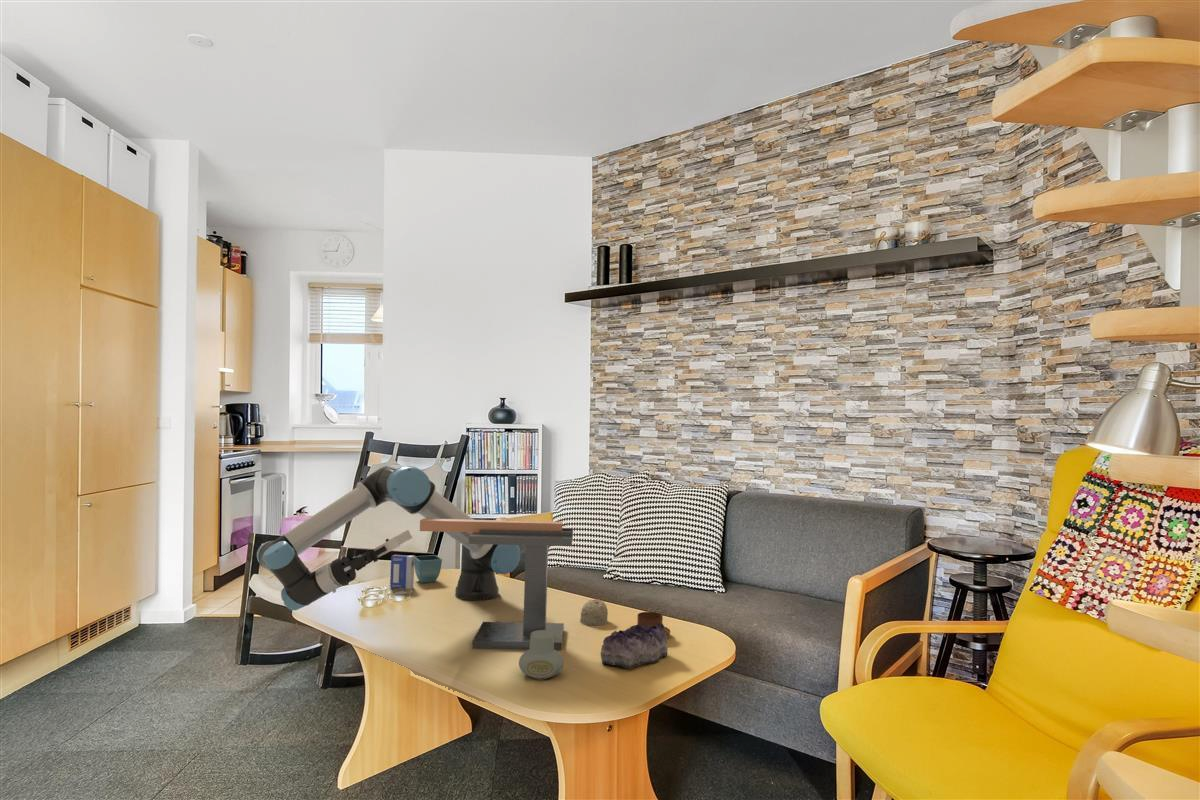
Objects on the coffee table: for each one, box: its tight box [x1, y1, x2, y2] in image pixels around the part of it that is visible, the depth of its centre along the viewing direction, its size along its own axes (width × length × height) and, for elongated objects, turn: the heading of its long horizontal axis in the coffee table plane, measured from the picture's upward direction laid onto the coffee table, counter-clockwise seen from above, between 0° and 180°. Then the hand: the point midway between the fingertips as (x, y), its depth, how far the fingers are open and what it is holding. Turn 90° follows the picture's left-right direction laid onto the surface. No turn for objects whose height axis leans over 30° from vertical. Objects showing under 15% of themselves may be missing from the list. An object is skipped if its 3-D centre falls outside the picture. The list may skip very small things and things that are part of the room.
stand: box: [469, 527, 574, 651], centre depth 193 cm, size 28×18×31 cm, turn 91°
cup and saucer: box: [628, 611, 671, 637], centre depth 198 cm, size 12×12×6 cm
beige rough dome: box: [579, 598, 609, 627], centre depth 211 cm, size 9×9×9 cm
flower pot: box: [414, 554, 443, 584], centre depth 259 cm, size 9×9×9 cm
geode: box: [600, 624, 668, 669], centre depth 178 cm, size 20×12×10 cm, turn 133°
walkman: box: [389, 554, 416, 590], centre depth 248 cm, size 8×3×12 cm, turn 86°
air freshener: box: [518, 630, 565, 680], centre depth 165 cm, size 11×8×10 cm
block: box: [419, 517, 563, 533], centre depth 194 cm, size 40×4×3 cm, turn 91°
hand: (404, 537), depth 193 cm, fingers open, 13 cm apart
